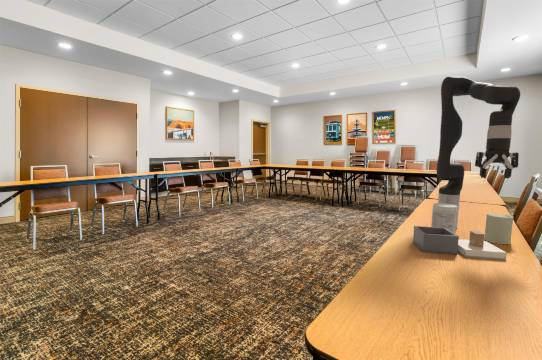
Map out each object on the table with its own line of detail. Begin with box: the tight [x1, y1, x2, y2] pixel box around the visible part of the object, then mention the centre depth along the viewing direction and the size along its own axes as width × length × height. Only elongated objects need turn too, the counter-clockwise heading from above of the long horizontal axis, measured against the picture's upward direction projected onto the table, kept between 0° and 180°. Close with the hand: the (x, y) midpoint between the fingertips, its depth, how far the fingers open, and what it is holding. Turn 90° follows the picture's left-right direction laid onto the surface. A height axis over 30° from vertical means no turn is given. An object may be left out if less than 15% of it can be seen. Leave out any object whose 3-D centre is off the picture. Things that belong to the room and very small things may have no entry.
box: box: [412, 225, 460, 255], centre depth 113 cm, size 12×12×7 cm
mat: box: [457, 251, 507, 261], centre depth 109 cm, size 14×13×1 cm
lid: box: [457, 230, 507, 260], centre depth 109 cm, size 13×13×7 cm
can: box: [484, 212, 514, 245], centre depth 122 cm, size 9×9×12 cm
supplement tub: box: [430, 202, 457, 234], centre depth 128 cm, size 10×10×15 cm
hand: (494, 177), depth 115 cm, fingers open, 8 cm apart
